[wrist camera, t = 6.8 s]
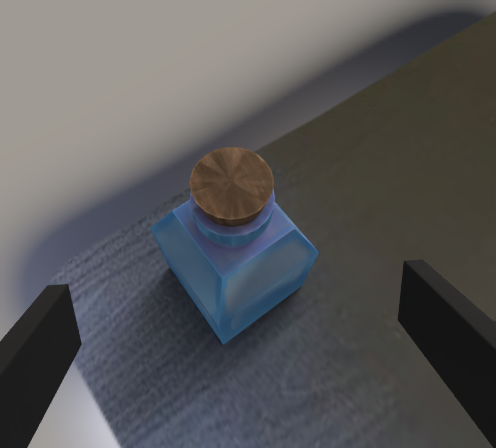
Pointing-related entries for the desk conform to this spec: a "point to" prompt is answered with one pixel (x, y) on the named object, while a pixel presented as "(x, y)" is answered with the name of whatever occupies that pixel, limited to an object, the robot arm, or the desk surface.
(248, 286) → the perfume bottle
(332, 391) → the desk surface
